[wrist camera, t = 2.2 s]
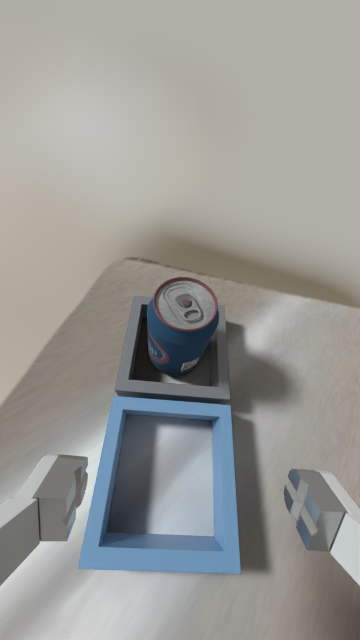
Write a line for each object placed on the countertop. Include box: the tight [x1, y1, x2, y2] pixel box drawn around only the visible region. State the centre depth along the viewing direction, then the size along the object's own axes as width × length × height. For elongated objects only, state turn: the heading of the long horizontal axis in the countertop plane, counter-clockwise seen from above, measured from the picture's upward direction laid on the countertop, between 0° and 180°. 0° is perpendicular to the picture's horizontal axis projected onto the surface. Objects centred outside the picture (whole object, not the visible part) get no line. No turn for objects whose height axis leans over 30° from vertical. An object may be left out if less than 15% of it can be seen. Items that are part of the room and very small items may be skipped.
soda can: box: [147, 277, 219, 376], centre depth 24 cm, size 7×7×12 cm
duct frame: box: [78, 296, 241, 574], centre depth 25 cm, size 12×25×4 cm, turn 177°
